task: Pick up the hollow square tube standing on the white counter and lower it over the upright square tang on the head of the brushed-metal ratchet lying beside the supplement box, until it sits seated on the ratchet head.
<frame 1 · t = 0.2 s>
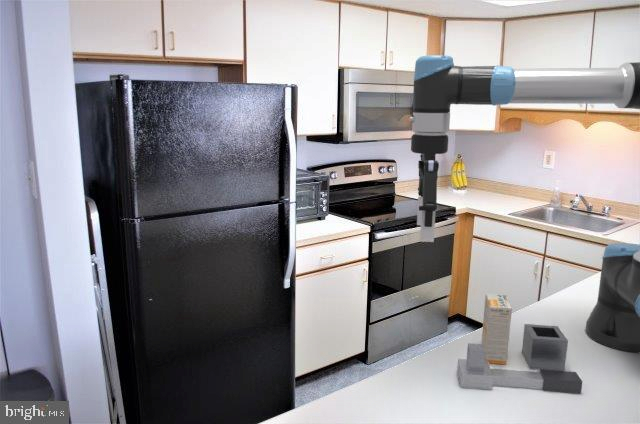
hand: (424, 232, 111), 28 cm above the counter, fingers open, 13 cm apart
ratchet: (473, 380, 105), on the counter
hollow square tube: (542, 361, 112), on the counter
supplement box: (493, 355, 115), on the counter
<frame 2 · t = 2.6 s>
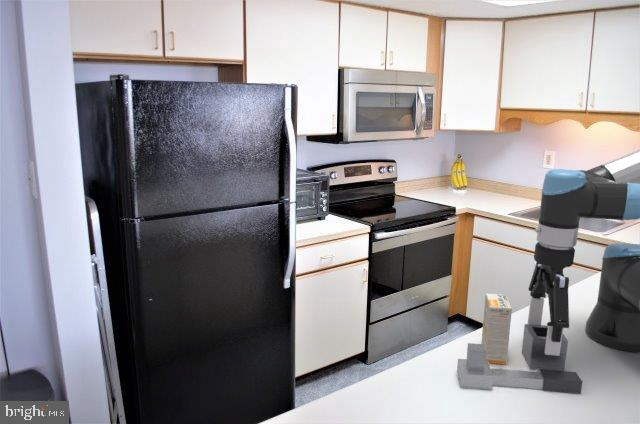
hand: (542, 339, 111), 5 cm above the counter, fingers open, 13 cm apart
nothing on the counter moved.
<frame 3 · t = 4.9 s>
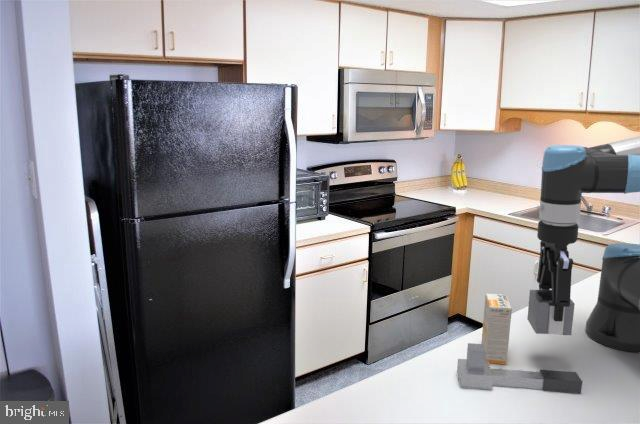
hand: (549, 325, 110), 9 cm above the counter, fingers closed on hollow square tube, 7 cm apart
hollow square tube: (548, 326, 110), point 8 cm above the counter, touching gripper
everything else where it was.
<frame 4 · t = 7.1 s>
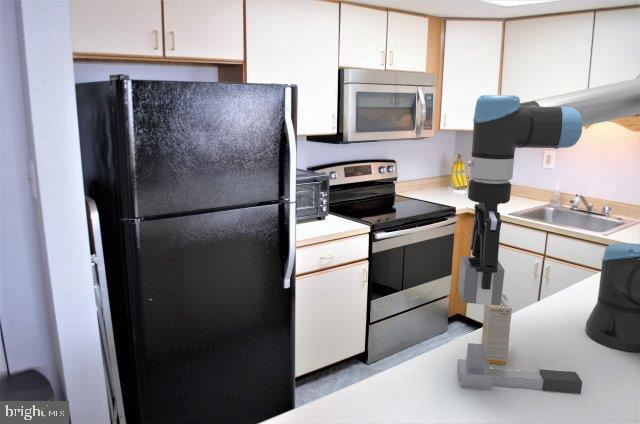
hand: (479, 295, 100), 18 cm above the counter, fingers closed on hollow square tube, 7 cm apart
hollow square tube: (478, 297, 101), point 18 cm above the counter, touching gripper
everything else where it was.
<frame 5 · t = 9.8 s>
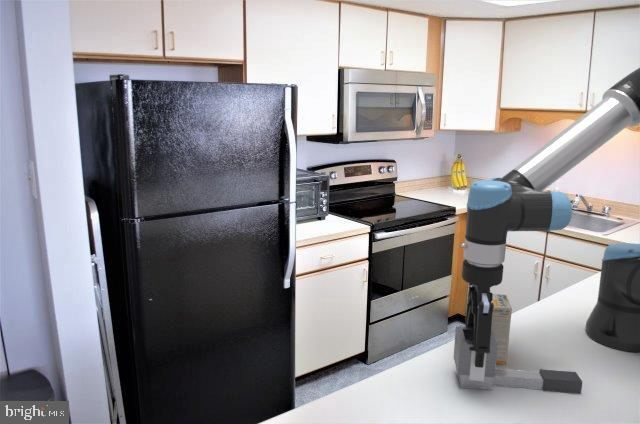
hand: (473, 369, 104), 3 cm above the counter, fingers closed on hollow square tube, 7 cm apart
hollow square tube: (473, 367, 104), point 3 cm above the counter, touching gripper, ratchet
everything else where it was.
when the fingers open (3 cm above the counter, at t = 10.6 s): hollow square tube stays where it is, resting on ratchet.
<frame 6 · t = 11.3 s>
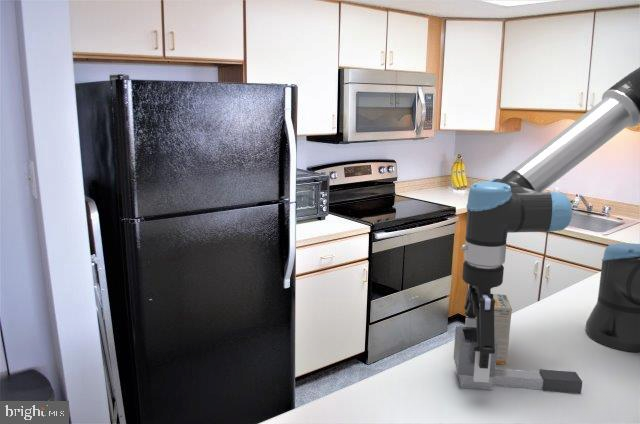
hand: (475, 363, 104), 4 cm above the counter, fingers open, 13 cm apart
hollow square tube: (473, 367, 104), point 3 cm above the counter, touching ratchet
everything else where it was.
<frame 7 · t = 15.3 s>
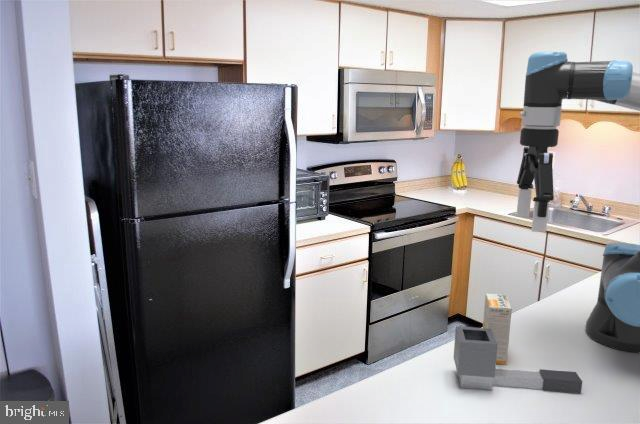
hand: (530, 223, 115), 29 cm above the counter, fingers open, 13 cm apart
nothing on the counter moved.
at the end: hollow square tube 0.3 cm off-centre on the ratchet, point 3.0 cm above the ratchet's base; hollow square tube tilted 0°; the gripper is holding nothing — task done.
